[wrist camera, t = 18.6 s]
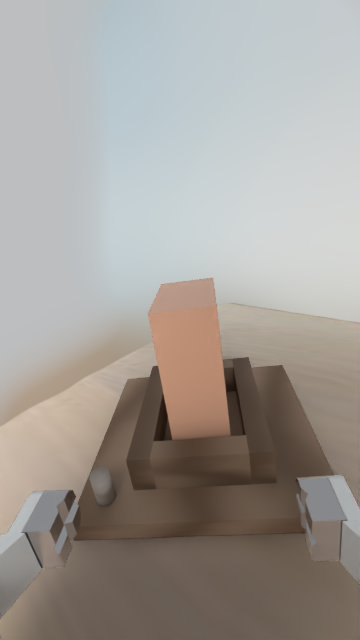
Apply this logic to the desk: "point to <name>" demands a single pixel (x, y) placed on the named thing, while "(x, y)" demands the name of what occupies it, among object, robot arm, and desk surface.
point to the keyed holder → (203, 464)
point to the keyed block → (190, 359)
